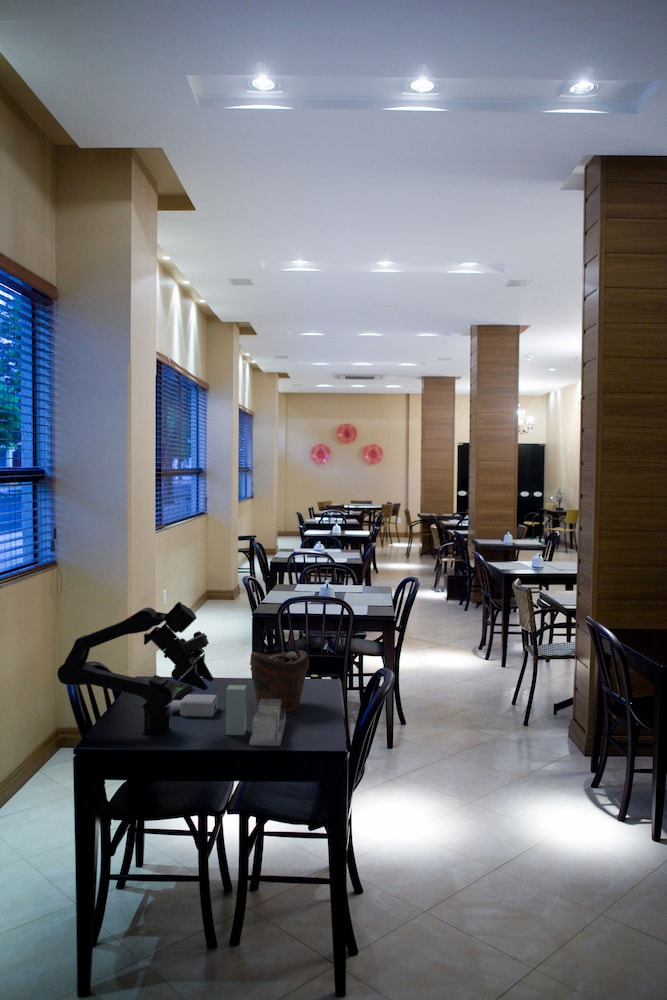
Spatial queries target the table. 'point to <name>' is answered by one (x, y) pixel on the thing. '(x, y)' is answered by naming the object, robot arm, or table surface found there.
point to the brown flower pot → (280, 676)
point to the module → (236, 709)
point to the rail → (268, 723)
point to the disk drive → (181, 689)
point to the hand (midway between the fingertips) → (209, 684)
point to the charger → (196, 705)
